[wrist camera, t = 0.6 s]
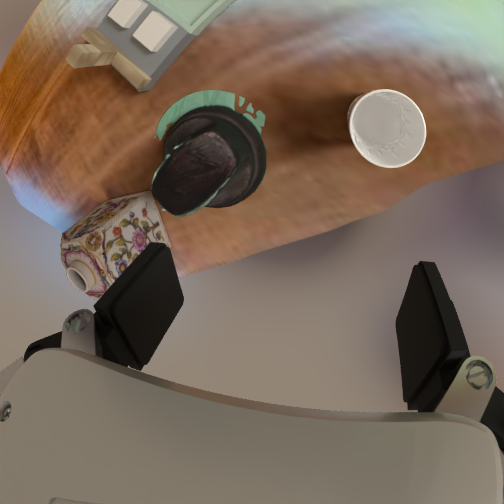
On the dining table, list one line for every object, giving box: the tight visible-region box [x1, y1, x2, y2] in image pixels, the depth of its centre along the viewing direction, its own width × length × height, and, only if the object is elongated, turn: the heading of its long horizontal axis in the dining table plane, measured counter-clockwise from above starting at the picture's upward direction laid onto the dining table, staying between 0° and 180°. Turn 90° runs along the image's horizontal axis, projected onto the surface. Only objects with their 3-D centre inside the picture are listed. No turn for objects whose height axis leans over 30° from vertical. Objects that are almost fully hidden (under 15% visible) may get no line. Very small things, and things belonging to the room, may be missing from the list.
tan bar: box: [66, 27, 152, 89], centre depth 25 cm, size 2×16×9 cm, turn 43°
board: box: [88, 0, 197, 92], centre depth 28 cm, size 11×15×3 cm
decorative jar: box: [61, 191, 172, 300], centre depth 42 cm, size 12×12×18 cm
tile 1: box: [108, 0, 148, 28], centre depth 24 cm, size 4×4×2 cm
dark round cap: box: [151, 90, 266, 217], centre depth 35 cm, size 20×20×9 cm
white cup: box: [347, 89, 426, 168], centre depth 26 cm, size 8×8×10 cm
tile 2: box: [133, 11, 178, 52], centre depth 26 cm, size 4×4×2 cm
